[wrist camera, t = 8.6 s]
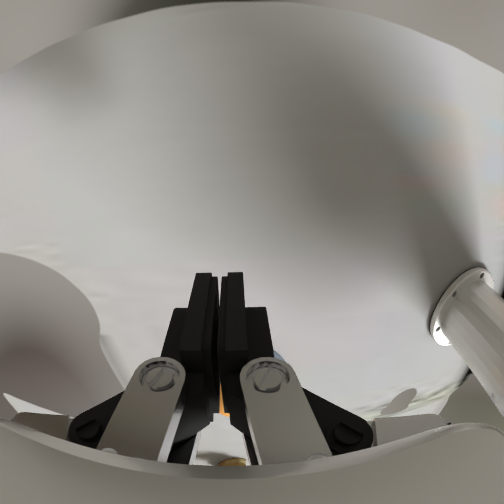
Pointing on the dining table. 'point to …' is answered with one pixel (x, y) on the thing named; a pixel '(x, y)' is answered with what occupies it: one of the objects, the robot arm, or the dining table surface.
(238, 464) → the chocolate bunny
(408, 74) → the dining table surface
